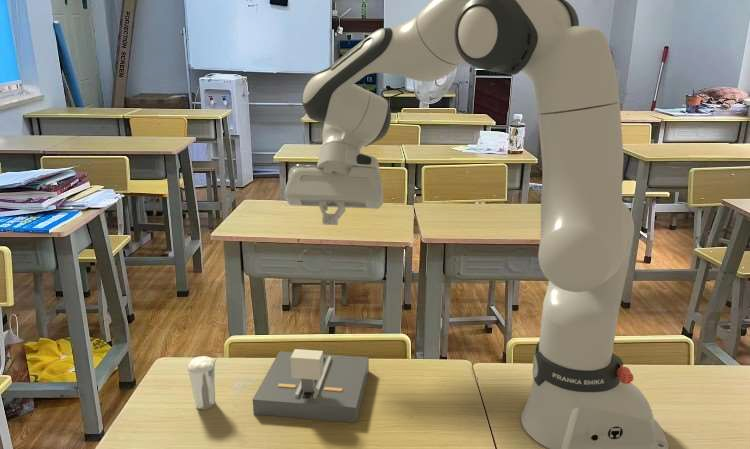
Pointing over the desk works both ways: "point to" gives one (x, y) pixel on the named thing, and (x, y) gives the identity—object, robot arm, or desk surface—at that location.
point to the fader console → (330, 396)
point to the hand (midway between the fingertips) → (329, 223)
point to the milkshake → (203, 381)
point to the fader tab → (307, 367)
